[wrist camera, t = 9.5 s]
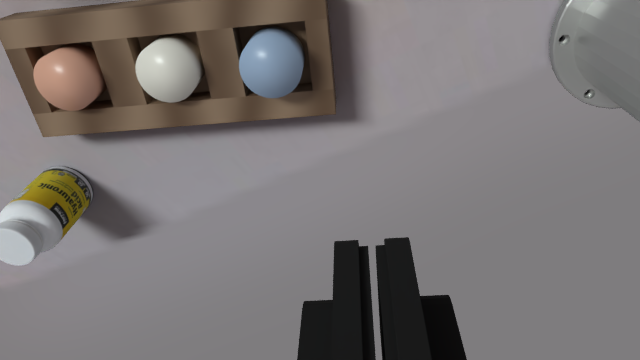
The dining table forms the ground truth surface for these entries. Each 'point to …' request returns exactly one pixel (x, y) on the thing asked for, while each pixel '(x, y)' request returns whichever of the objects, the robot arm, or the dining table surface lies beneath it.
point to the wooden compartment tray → (144, 28)
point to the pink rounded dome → (69, 77)
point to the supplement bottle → (42, 214)
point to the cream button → (170, 68)
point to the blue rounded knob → (272, 62)
